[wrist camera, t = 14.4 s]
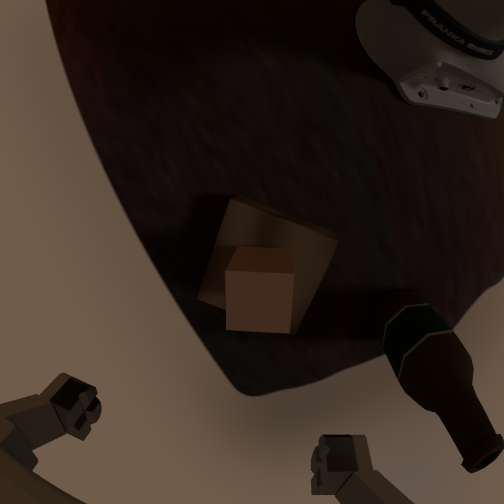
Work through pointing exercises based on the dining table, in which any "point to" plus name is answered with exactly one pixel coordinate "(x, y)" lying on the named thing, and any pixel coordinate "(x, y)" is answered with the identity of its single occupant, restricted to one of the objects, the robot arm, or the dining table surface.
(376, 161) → the dining table surface
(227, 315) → the terracotta block
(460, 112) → the robot arm
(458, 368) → the beer bottle
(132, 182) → the dining table surface
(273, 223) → the walnut block
